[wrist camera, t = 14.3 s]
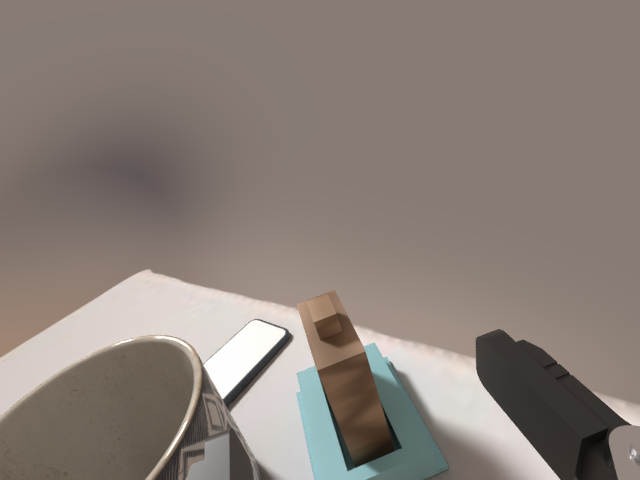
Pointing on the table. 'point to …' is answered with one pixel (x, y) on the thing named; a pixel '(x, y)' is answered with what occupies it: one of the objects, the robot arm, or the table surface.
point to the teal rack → (402, 420)
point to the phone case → (244, 357)
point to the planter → (117, 417)
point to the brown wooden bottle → (346, 378)
